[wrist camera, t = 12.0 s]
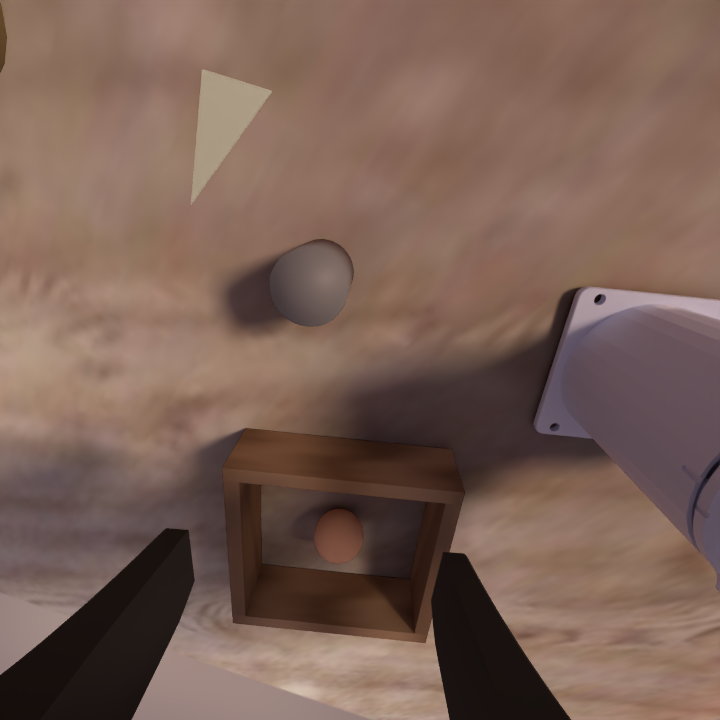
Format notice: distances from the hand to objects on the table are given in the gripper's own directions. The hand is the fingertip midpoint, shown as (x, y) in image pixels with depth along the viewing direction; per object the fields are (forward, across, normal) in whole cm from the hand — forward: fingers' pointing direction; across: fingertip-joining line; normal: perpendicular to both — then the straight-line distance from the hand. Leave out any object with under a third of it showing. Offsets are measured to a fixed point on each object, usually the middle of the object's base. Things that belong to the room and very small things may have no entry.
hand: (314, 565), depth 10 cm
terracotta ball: (+10, -1, +9) cm, 14 cm away
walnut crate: (+10, -1, +9) cm, 14 cm away
